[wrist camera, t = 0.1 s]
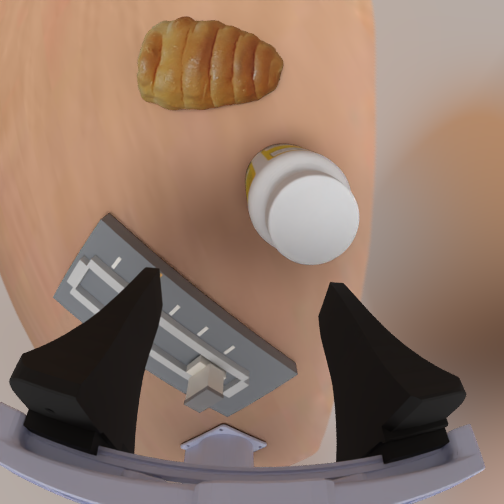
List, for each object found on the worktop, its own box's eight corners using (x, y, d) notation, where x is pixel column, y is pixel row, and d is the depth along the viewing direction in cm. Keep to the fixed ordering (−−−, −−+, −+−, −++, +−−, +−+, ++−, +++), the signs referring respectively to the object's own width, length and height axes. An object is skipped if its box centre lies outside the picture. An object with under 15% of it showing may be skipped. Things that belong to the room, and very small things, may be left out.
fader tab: (208, 383, 26) (205, 415, 23) (183, 367, 26) (177, 400, 22) (230, 368, 26) (229, 402, 22) (205, 351, 25) (200, 385, 21)
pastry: (285, 36, 17) (294, 19, 13) (271, 121, 20) (277, 120, 16) (157, 25, 16) (141, 9, 13) (142, 109, 19) (123, 107, 15)
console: (227, 406, 31) (227, 422, 29) (60, 288, 24) (49, 301, 22) (295, 362, 28) (298, 380, 26) (109, 213, 21) (96, 222, 19)
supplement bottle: (281, 230, 23) (307, 301, 14) (229, 180, 21) (219, 222, 12) (334, 181, 21) (395, 223, 12) (283, 127, 20) (318, 128, 11)
